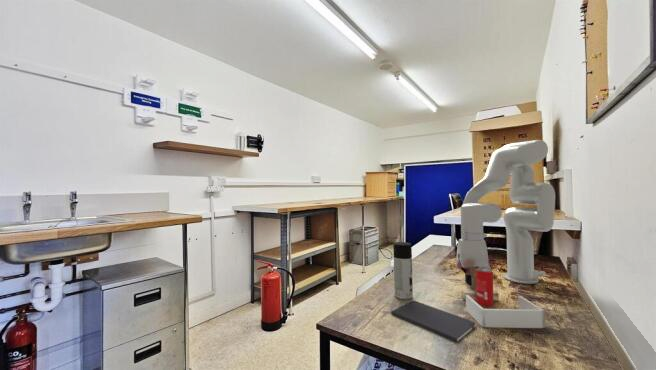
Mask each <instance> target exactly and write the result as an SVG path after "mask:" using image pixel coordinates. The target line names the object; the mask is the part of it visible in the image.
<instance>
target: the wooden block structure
mask: <svg viewBox="0 0 656 370" xmlns="http://www.w3.org/2000/svg"><path fill="white" fill-rule="evenodd" d="M476 270H477V267H470V275H471V276H472V285H471V286H469V285H468V284H466V290H461V299H463V301H464V300H465V301H466V295H469V296H470V297H471V298H472V299H473V300H474V301H477V300H476ZM493 301H500V299H499V292H497V291H496V290H493Z"/></svg>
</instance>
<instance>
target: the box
mask: <svg viewBox="0 0 656 370" xmlns="http://www.w3.org/2000/svg"><path fill="white" fill-rule="evenodd" d="M517 301H518V302H517V303H518V305H517V306H518V309H517V308H483V306H482V305H480V304H478V302H477V301H476V300H473V299H472V298H471V297H470V296H469V295H466V300H465V311H466V312H467V313H468V314H469V315H470V316H471V317H472V318H473V320H475V321H476V323H478V324H479V325H480V326H481V327H482V328H502V329H503V328H504V329H505V328H506V329H507V328H508V329H509V328H510V329H511V328H512V329H515V328H516V329H517V328H518V329H519V328H520V329H546V310H545V309H543V308H541V307H539V306H538V305H536V304H534V303H533V302H531V301H530V300H528V299H527V298H525V297H523V296H522V295H517Z"/></svg>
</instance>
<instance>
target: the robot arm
mask: <svg viewBox="0 0 656 370" xmlns="http://www.w3.org/2000/svg"><path fill="white" fill-rule="evenodd" d="M548 153H549V147H548V144H547V142H545V141H544V140H542V139H535V140H534V139H533V140H525V141H518V142H512V143H507V144H505V145H503V146H502V147H501V148H498V149H496V150H494V151H493V153H492V154H491V156H490V160H489V163H488V165H487V168H486V171H485V173H484V176H483V178H482V179H481V180H479V181H478V182H477V183H476V184H475V185H473V186H472V187H471V188H470V189H469V191H467V193H466V195H465V196H464V199H463V202H462V205H461V207H460V237H461V238H459V239H458V242H457V247H456V248H457V249H456V263H455V265H454V266H455V268H456V269H458V270H461V271H462V272H463V273H464V279H465V283H466V285H469V286H471V285H472V276H471V275H470V267H477V268H488V269H491V266H490V263H489V255H488V254H489V253H488V247H487V243H486V240H485V238H487V237H488V235H487V233H484V223H488V224H489V223H492V224H493V223H497V222H499V221H500V220H501V218H502V217H503V220H504V224H505V225H504V226H505V231H506V258H507V259H506V261H507V264H506V265H507V266H506V267H507V272H504V273H503V274H502V275H503V278H504V279H506V280H508V281H511V282H515V283H517V284H518V283H519V284H523V285H524V284H525V285H534V284H535V285H536V284H538V283H539V278H538V277H546V276H547V273H546V272H545V271H544V270H542V271H541V270H540V271H539V270H537V269H535V267H534V266H535V263H534V261H535V258H534V257H535V256H534V238H533V237H532V235H531V233H530V231H534V232H543V233H544V232H546V233H547V232H549V231H551V230H552V228H553V227H554V221H555V209H556V191H555V188H554V186H553V185H552V184H550V183H548V182H541V181H539V182H535V171H534V169H533V167H532V165H534V164H537V163H539V162H541V161H542V160H544V159H545V158H546V157H547V155H548ZM509 178H510V183H509V200H510V201H511V203H513V204H516V205H517V204H519V205H529V206H533V205H534V206H536V207H524V206H513V207H508V208H507V209H505V211H504V212H503V210H502V208H501V207H500V206H499V205H498V204H495V203H490V202H479V201H480V200H481V199H482V198H483V197H485V196H486V195H488V194H491V193H493V192H497V191H498V190H500V189H503V188H505V187H506V186H507V184H508V181H509Z"/></svg>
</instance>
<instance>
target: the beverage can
mask: <svg viewBox="0 0 656 370" xmlns="http://www.w3.org/2000/svg"><path fill="white" fill-rule="evenodd" d="M493 291H494V273H493V270H492V269H491V268H489V269H488V268H477V270H476V300H475V301H476V303H478V304H479V305H480V306H481V307H487V308H488V307H492V306H493V304H494V303H495V300H493Z"/></svg>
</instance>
